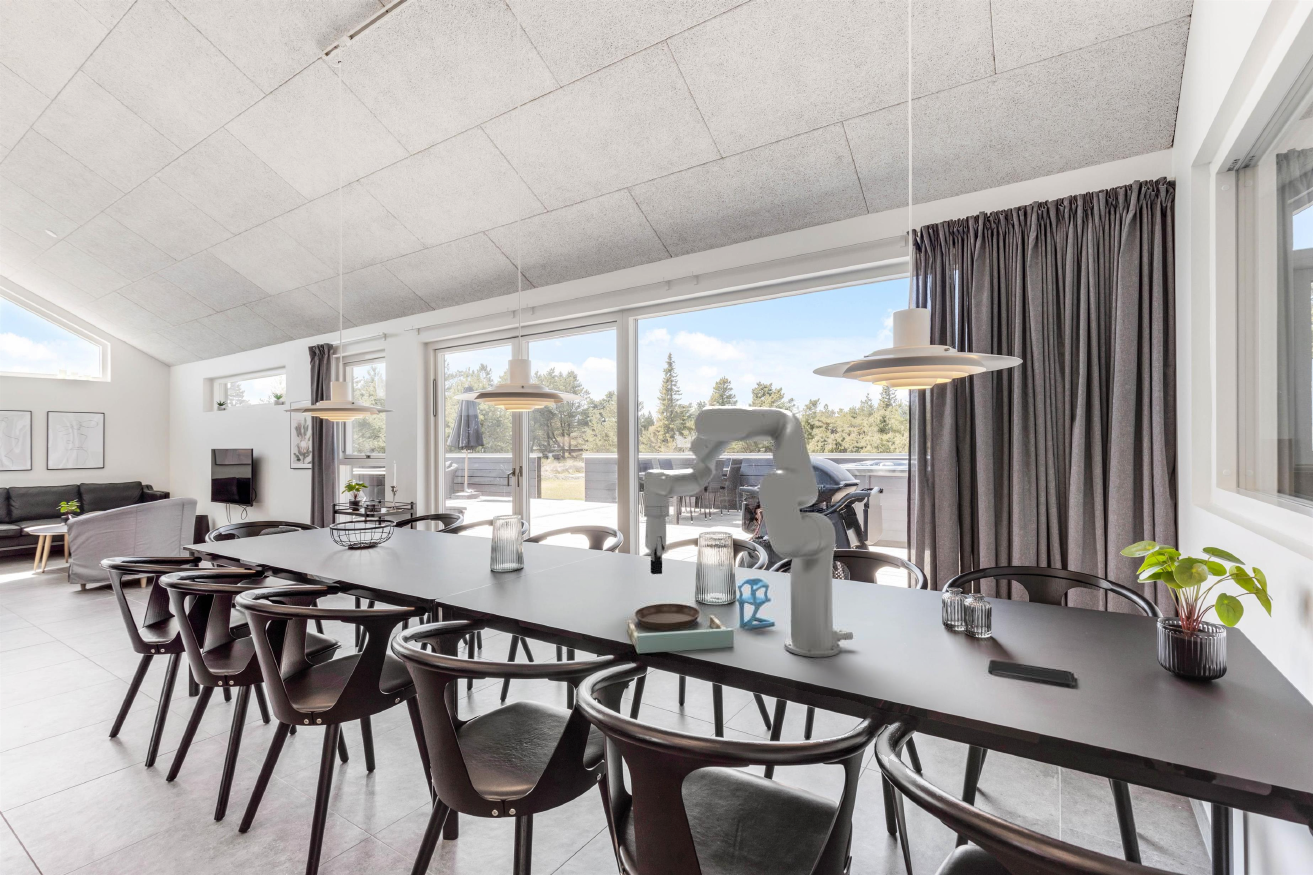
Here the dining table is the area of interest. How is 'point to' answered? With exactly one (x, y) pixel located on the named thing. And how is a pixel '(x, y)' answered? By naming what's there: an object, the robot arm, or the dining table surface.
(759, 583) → the chair
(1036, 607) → the dining table surface
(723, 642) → the saucer dock
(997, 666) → the phone
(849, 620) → the dining table surface
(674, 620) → the plant saucer
